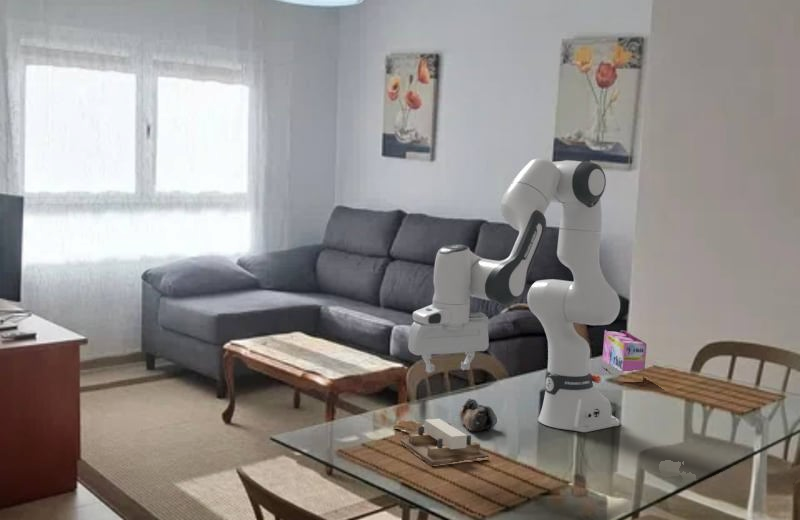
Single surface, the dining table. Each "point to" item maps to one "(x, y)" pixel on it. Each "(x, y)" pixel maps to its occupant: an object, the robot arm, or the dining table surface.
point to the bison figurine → (477, 416)
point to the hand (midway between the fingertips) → (447, 370)
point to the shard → (407, 425)
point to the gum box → (624, 351)
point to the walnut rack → (441, 449)
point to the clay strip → (445, 433)
